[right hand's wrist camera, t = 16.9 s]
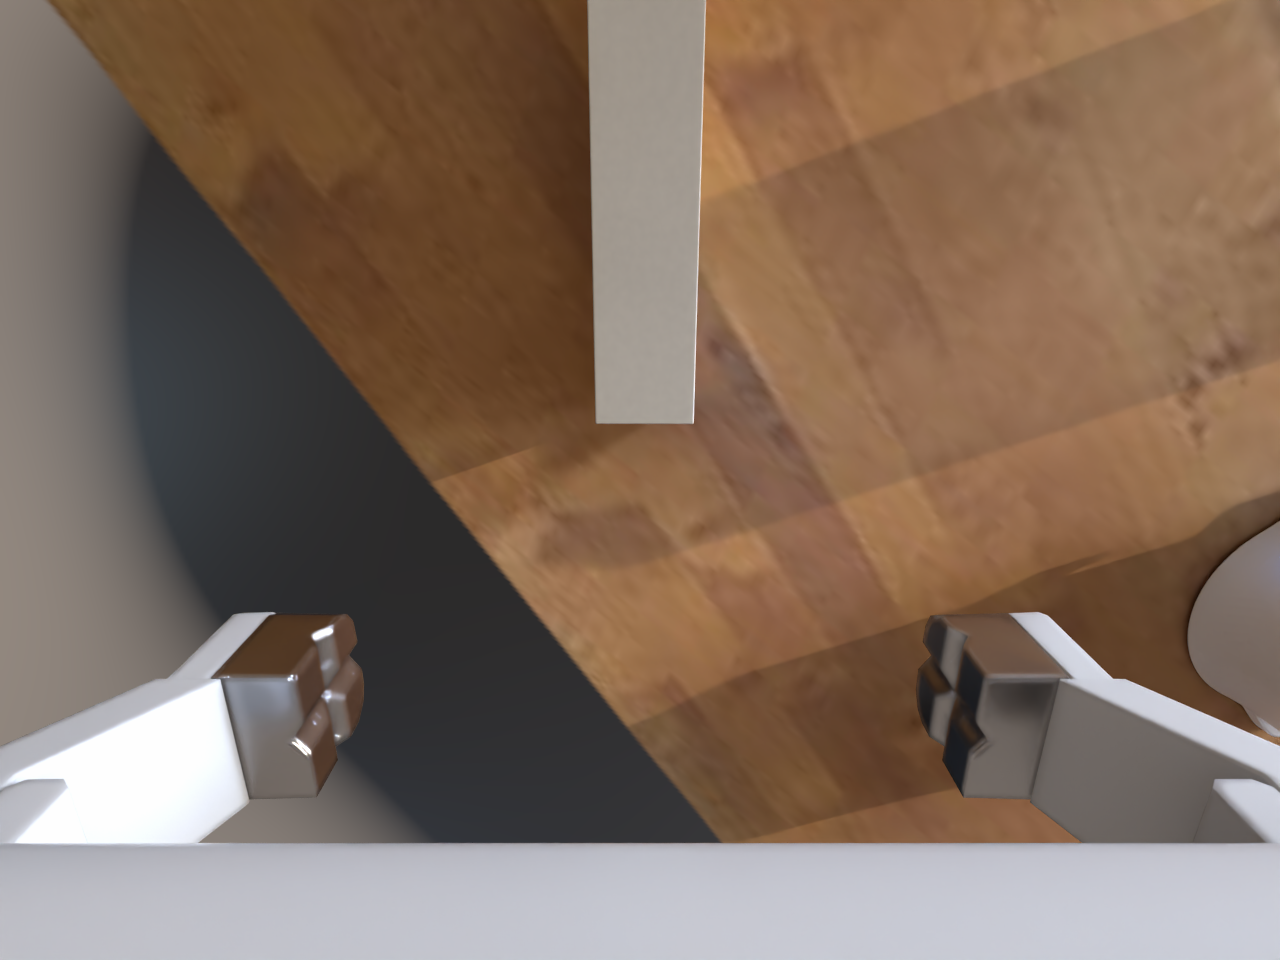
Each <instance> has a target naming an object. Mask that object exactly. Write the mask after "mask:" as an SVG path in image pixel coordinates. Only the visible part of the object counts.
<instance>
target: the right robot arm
mask: <svg viewBox="0 0 1280 960" xmlns="http://www.w3.org/2000/svg"><path fill="white" fill-rule="evenodd" d="M356 643H357V638H356V633H355V628H354V623H353V621H352V620H351V618H350V617H349V616H348V615H347V614H307V613H273V612H264V613H240V614H234V615H233V616H231V617H230V618H229V619H228V620H227V621H226V622H225V623H224V624H223V625H222V626H221V627H220V628H219V629H218V630H217V631H216V632H215V633H214V634H213V635H212V636H211V637H210V638H209V639H208V640H207V641H206V642H205V643H204V644H203V645H202V646H200V647H199V648H198V649H197V650H196V651H195V652H194V653H193V654H192V655H191V656H190V657H189V658H188V659H187V660H186V661H185V662H184V663H183V664H182V665H181V666H180V667H179V668H178V669H177V670H176V671H175V672H174V673H173V674H172V675H170V676H169V677H168V678H167V679H154V680H151V681H149V682H147V683H145V684H142V685H140V686H138V687H135V688H133V689H131V690H128V691H126V692H124V693H122V694H119V695H117V696H115V697H112V698H110V699H108V700H105V701H103V702H101V703H98V704H96V705H94V706H92V707H89V708H87V709H85V710H82V711H80V712H78V713H75V714H73V715H71V716H69V717H66V718H64V719H62V720H59V721H57V722H55V723H52V724H50V725H48V726H45V727H43V728H41V729H39V730H36V731H34V732H32V733H29V734H27V735H25V736H22V737H20V738H18V739H15V740H13V741H11V742H9V743H6V744H4V745H2V746H0V960H1280V746H1278V745H1276V744H1273V743H1271V742H1269V741H1266V740H1264V739H1262V738H1260V737H1257V736H1255V735H1253V734H1250V733H1248V732H1246V731H1243V730H1241V729H1239V728H1237V727H1234V726H1232V725H1230V724H1227V723H1225V722H1223V721H1220V720H1218V719H1216V718H1214V717H1211V716H1209V715H1207V714H1204V713H1202V712H1200V711H1197V710H1195V709H1193V708H1191V707H1188V706H1186V705H1184V704H1181V703H1179V702H1177V701H1174V700H1172V699H1170V698H1168V697H1165V696H1163V695H1161V694H1158V693H1156V692H1154V691H1151V690H1149V689H1147V688H1145V687H1142V686H1140V685H1138V684H1135V683H1133V682H1131V681H1129V680H1126V679H1113V678H1112V677H1111V676H1110V675H1109V674H1108V673H1106V672H1105V671H1104V670H1103V669H1102V668H1101V667H1100V666H1099V665H1098V664H1097V663H1096V662H1095V661H1094V660H1093V659H1092V658H1091V657H1090V656H1089V655H1088V654H1087V653H1086V652H1085V651H1084V650H1083V649H1082V648H1081V647H1080V646H1079V645H1078V644H1077V643H1076V642H1075V641H1074V640H1072V639H1071V638H1070V637H1069V636H1068V635H1067V634H1066V633H1065V632H1064V631H1063V630H1062V629H1061V628H1060V627H1059V626H1058V625H1057V624H1056V623H1055V622H1054V621H1053V620H1052V619H1051V618H1050V617H1049V616H1048V615H1045V614H1042V613H1039V612H1028V613H997V614H957V615H933V616H930V618H929V620H928V622H927V624H926V626H925V632H924V638H923V643H924V644H925V646H926V647H927V649H928V651H929V652H930V654H931V656H930V657H929V659H928V660H927V661H926V662H925V663H924V664H923V665H922V666H921V667H920V668H919V669H918V677H917V685H916V695H917V705H918V711H919V714H920V718H921V721H922V724H923V726H924V727H925V729H926V731H927V733H928V735H929V737H931V738H932V739H934V740H935V741H937V742H938V743H940V744H942V745H943V746H945V747H944V753H943V759H942V760H943V762H944V764H945V766H946V767H947V769H948V771H949V773H950V775H951V776H952V778H953V780H954V782H955V783H956V785H957V787H958V789H959V790H960V792H961V794H962V796H963V797H965V798H1002V799H1031V800H1030V803H1032V804H1033V805H1034V806H1036V807H1037V808H1038V809H1039V810H1041V811H1042V812H1043V813H1045V814H1046V815H1047V816H1048V817H1050V818H1051V819H1052V820H1054V821H1055V822H1056V823H1057V824H1059V825H1060V826H1061V827H1063V828H1064V829H1065V830H1066V831H1068V832H1069V833H1070V834H1072V835H1073V836H1074V837H1075V838H1077V839H1078V840H1079V841H1081V842H1082V843H198V842H200V841H201V840H202V839H203V838H205V837H206V836H207V835H209V834H210V833H211V832H212V831H214V830H215V829H216V828H218V827H219V826H220V825H222V824H223V823H224V822H225V821H227V820H228V819H229V818H231V817H232V816H233V815H234V814H236V813H237V812H238V811H240V810H241V809H242V808H243V807H245V806H246V805H247V804H249V802H250V801H249V799H276V798H312V797H317V796H318V794H319V792H320V790H321V789H322V787H323V785H324V783H325V782H326V780H327V778H328V776H329V775H330V773H331V771H332V769H333V767H334V766H335V764H336V762H337V760H338V759H337V753H336V748H335V746H337V745H338V744H340V743H341V742H343V741H345V740H346V739H348V738H349V737H351V735H352V733H353V731H354V729H355V727H356V725H357V724H358V722H359V718H360V713H361V709H362V705H363V696H364V683H363V676H362V669H361V668H360V667H359V666H358V665H357V664H356V663H355V662H354V661H353V660H352V659H351V657H350V656H349V654H350V652H351V650H352V649H353V647H354V646H355V644H356ZM1188 650H1189V654H1190V658H1191V661H1192V663H1193V665H1194V667H1195V669H1196V671H1197V672H1198V674H1199V675H1200V677H1201V678H1202V679H1203V680H1204V681H1205V682H1206V683H1207V684H1208V685H1209V686H1210V687H1212V688H1213V689H1214V690H1216V691H1217V692H1219V693H1221V694H1223V695H1225V696H1227V697H1229V698H1230V699H1232V700H1234V701H1236V702H1237V703H1239V704H1241V705H1242V706H1243V707H1244V709H1245V711H1246V712H1247V714H1248V716H1249V717H1250V719H1251V720H1252V721H1253V723H1254V724H1255V725H1256V726H1258V727H1259V728H1261V729H1262V730H1264V731H1265V732H1267V733H1268V734H1270V735H1272V736H1274V737H1280V521H1279V522H1277V523H1276V524H1274V525H1273V526H1271V527H1269V528H1268V529H1266V530H1264V531H1263V532H1261V533H1259V534H1258V535H1256V536H1255V537H1253V538H1252V539H1250V540H1249V541H1247V542H1246V543H1244V544H1243V545H1242V546H1240V547H1239V548H1238V549H1237V550H1236V551H1234V552H1233V553H1232V554H1231V555H1230V556H1229V557H1228V558H1227V559H1226V560H1224V562H1223V563H1222V564H1221V565H1220V566H1219V567H1218V568H1217V569H1216V570H1215V572H1214V573H1213V574H1212V575H1211V577H1210V578H1209V579H1208V581H1207V582H1206V584H1205V585H1204V587H1203V588H1202V590H1201V592H1200V594H1199V596H1198V598H1197V600H1196V602H1195V604H1194V607H1193V610H1192V613H1191V616H1190V620H1189V626H1188Z"/></svg>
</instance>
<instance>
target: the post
mask: <svg viewBox="0 0 1280 960" xmlns="http://www.w3.org/2000/svg"><path fill="white" fill-rule="evenodd" d="M587 14H588V64H589V115H590V166H591V217H592V267H593V318H594V369H595V420H596V424H693V423H694V390H695V356H696V322H697V288H698V254H699V220H700V186H701V152H702V118H703V84H704V50H705V16H706V0H587Z"/></svg>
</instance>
